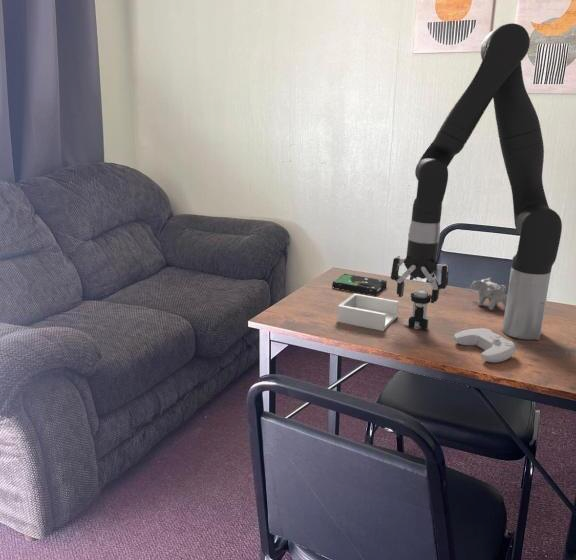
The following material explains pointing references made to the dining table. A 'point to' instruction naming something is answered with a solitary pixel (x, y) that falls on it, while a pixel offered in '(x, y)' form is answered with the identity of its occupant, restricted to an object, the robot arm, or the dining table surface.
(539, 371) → the dining table surface
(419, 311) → the push button
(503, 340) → the game controller
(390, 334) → the dining table surface
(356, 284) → the disk drive
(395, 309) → the box
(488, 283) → the elephant statuette
